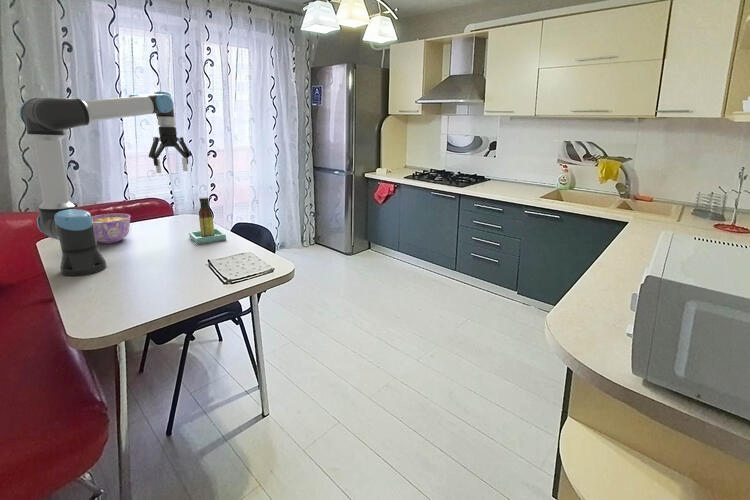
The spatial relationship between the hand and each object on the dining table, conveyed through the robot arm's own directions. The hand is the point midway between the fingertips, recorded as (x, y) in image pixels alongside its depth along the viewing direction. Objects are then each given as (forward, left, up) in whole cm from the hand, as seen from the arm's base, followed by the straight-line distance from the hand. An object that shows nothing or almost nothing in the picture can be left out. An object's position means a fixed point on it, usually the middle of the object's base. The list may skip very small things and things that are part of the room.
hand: (172, 172), depth 206 cm
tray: (-13, -10, -32) cm, 36 cm away
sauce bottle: (-12, -10, -32) cm, 35 cm away
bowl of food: (+9, +30, -33) cm, 45 cm away
